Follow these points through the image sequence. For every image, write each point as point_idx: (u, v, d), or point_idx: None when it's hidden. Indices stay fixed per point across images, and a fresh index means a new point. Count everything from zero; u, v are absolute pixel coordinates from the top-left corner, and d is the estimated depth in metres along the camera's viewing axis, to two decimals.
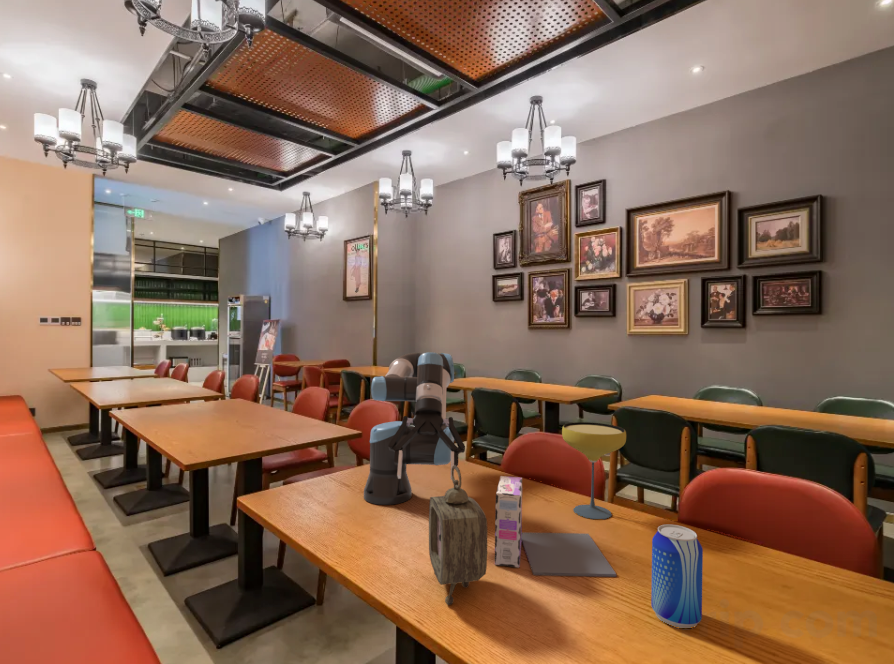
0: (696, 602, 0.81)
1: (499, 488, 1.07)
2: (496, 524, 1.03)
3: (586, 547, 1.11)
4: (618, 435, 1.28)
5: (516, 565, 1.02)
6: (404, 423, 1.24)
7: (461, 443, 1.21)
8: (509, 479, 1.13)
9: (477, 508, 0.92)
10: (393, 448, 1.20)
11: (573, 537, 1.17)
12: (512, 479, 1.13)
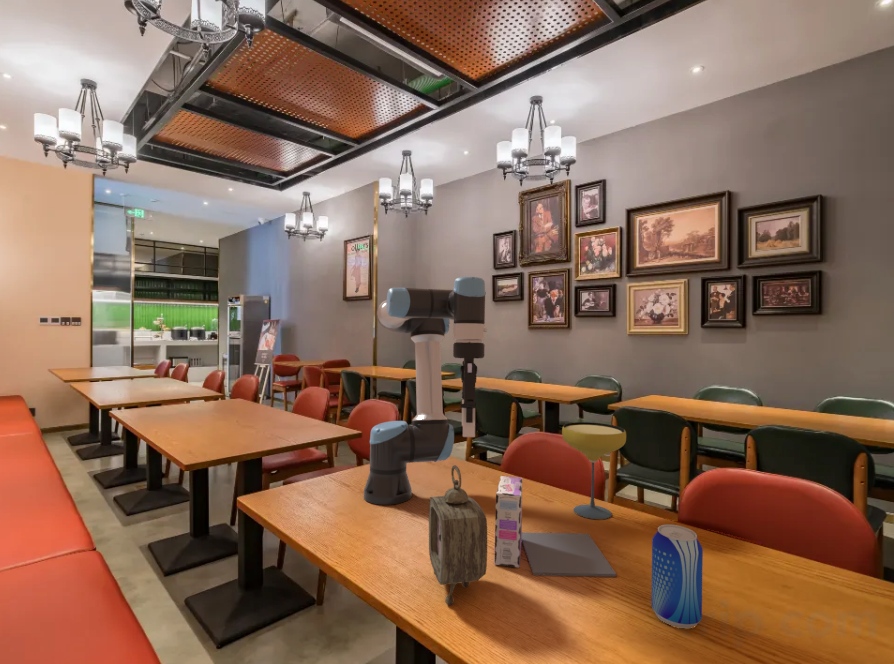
0: (696, 602, 0.81)
1: (499, 488, 1.07)
2: (496, 524, 1.03)
3: (586, 547, 1.11)
4: (618, 435, 1.28)
5: (516, 565, 1.02)
6: (474, 373, 1.04)
7: None
8: (509, 479, 1.13)
9: (477, 508, 0.92)
10: (472, 405, 1.01)
11: (573, 537, 1.17)
12: (512, 479, 1.13)
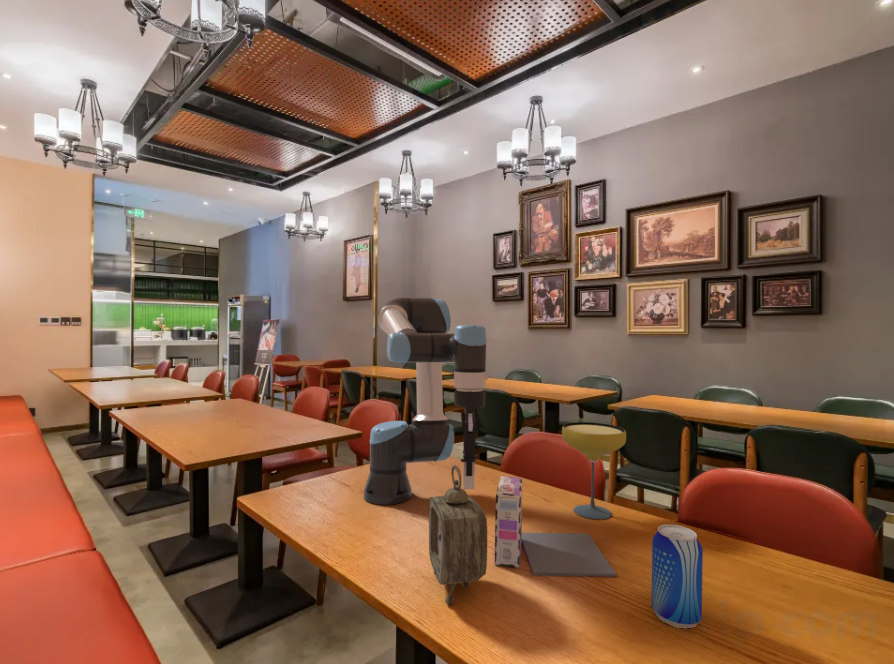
0: (696, 602, 0.81)
1: (499, 488, 1.07)
2: (496, 524, 1.03)
3: (586, 547, 1.11)
4: (618, 435, 1.28)
5: (516, 565, 1.02)
6: (475, 430, 1.05)
7: None
8: (509, 479, 1.13)
9: (477, 508, 0.92)
10: None
11: (573, 537, 1.17)
12: (512, 479, 1.13)
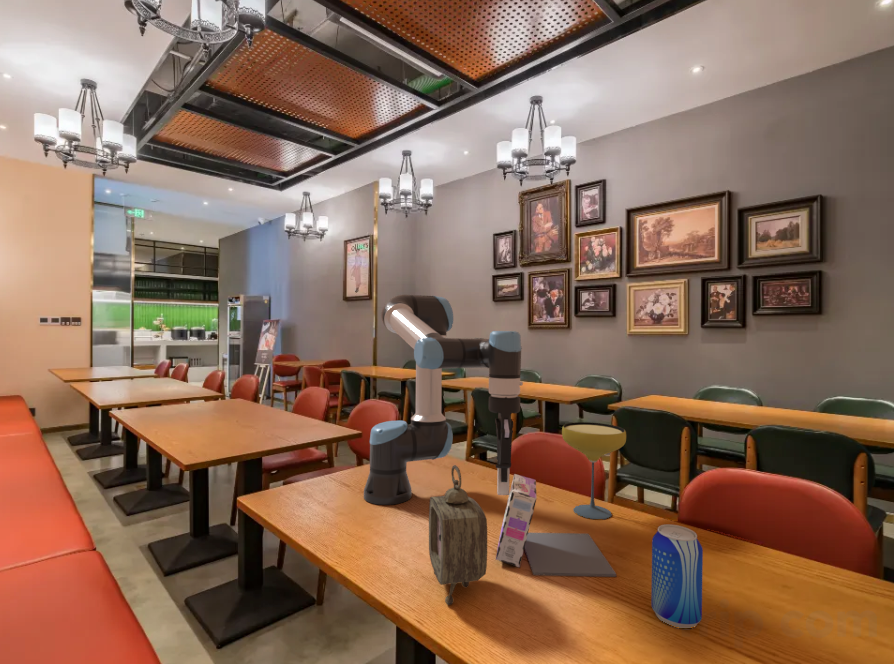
0: (696, 602, 0.81)
1: (515, 486, 1.06)
2: (506, 521, 1.03)
3: (586, 547, 1.11)
4: (618, 435, 1.28)
5: (517, 564, 1.02)
6: (511, 436, 1.05)
7: None
8: (524, 479, 1.13)
9: (477, 508, 0.92)
10: None
11: (573, 537, 1.17)
12: (526, 479, 1.13)
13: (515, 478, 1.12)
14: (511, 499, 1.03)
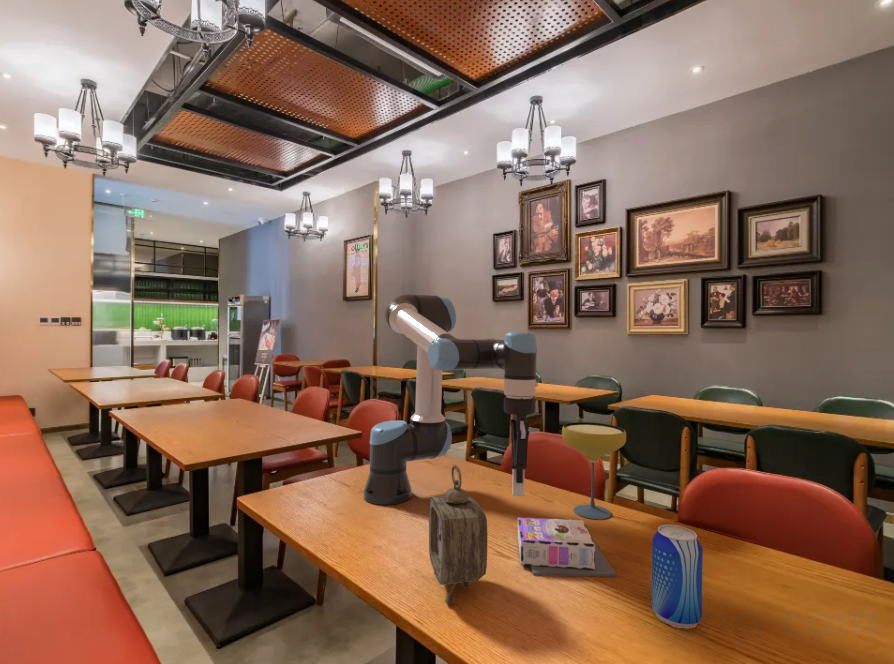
0: (696, 602, 0.81)
1: (591, 539, 1.04)
2: (562, 544, 1.01)
3: None
4: (618, 435, 1.28)
5: (522, 562, 1.02)
6: None
7: None
8: None
9: (477, 508, 0.92)
10: None
11: None
12: None
13: None
14: (586, 545, 1.01)
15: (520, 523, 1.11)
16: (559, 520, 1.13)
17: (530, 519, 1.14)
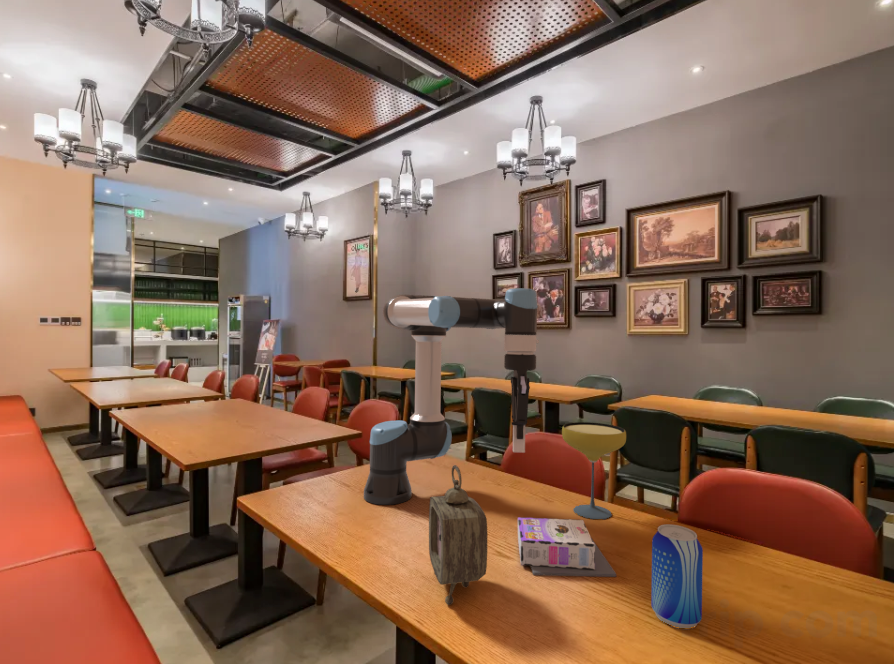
0: (696, 602, 0.81)
1: (591, 539, 1.04)
2: (562, 544, 1.01)
3: None
4: (618, 435, 1.28)
5: (522, 562, 1.02)
6: None
7: None
8: None
9: (477, 508, 0.92)
10: None
11: None
12: None
13: None
14: (586, 545, 1.01)
15: (520, 523, 1.11)
16: (559, 520, 1.13)
17: (530, 519, 1.14)
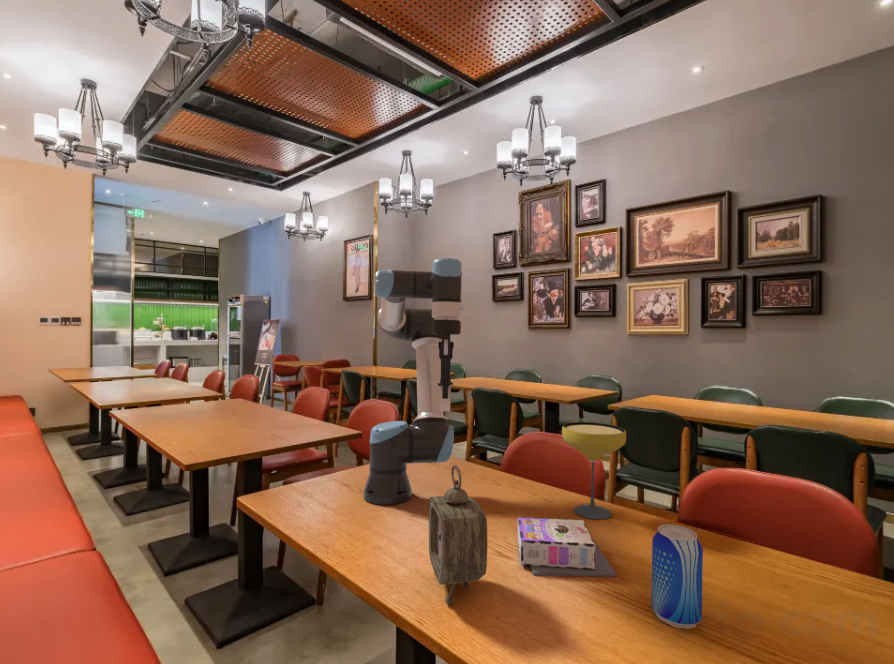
0: (696, 602, 0.81)
1: (591, 539, 1.04)
2: (562, 544, 1.01)
3: None
4: (618, 435, 1.28)
5: (522, 562, 1.02)
6: (450, 354, 1.13)
7: None
8: None
9: (477, 508, 0.92)
10: (448, 383, 1.15)
11: None
12: None
13: None
14: (586, 545, 1.01)
15: (520, 523, 1.11)
16: (559, 520, 1.13)
17: (530, 519, 1.14)
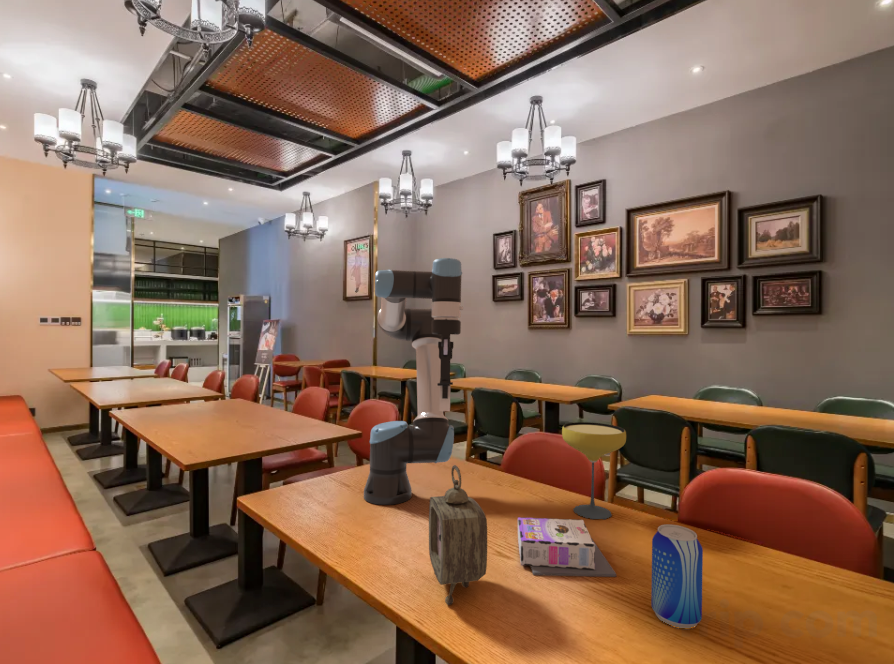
0: (696, 602, 0.81)
1: (591, 539, 1.04)
2: (562, 544, 1.01)
3: None
4: (618, 435, 1.28)
5: (522, 562, 1.02)
6: (450, 354, 1.13)
7: None
8: None
9: (477, 508, 0.92)
10: (447, 383, 1.15)
11: None
12: None
13: None
14: (586, 545, 1.01)
15: (520, 523, 1.11)
16: (559, 520, 1.13)
17: (530, 519, 1.14)
